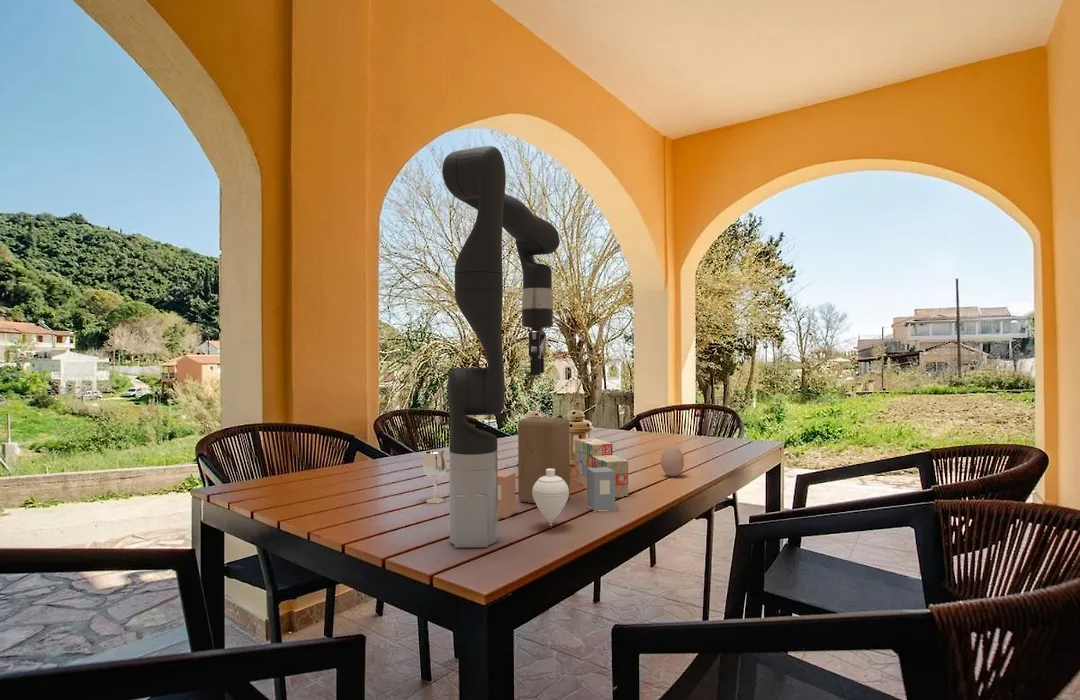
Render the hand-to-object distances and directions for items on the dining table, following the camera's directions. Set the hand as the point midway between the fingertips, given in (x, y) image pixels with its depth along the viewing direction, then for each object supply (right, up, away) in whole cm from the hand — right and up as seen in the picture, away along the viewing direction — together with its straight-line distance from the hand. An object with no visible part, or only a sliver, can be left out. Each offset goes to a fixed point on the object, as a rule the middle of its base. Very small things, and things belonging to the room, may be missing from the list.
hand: (537, 374), depth 135 cm
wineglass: (-25, -32, +1) cm, 40 cm away
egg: (+40, -32, +27) cm, 58 cm away
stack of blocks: (+17, -32, +13) cm, 38 cm away
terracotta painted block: (-8, -31, -11) cm, 34 cm away
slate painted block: (+15, -31, -7) cm, 35 cm away
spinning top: (+3, -31, -21) cm, 37 cm away
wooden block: (+2, -31, +1) cm, 31 cm away
